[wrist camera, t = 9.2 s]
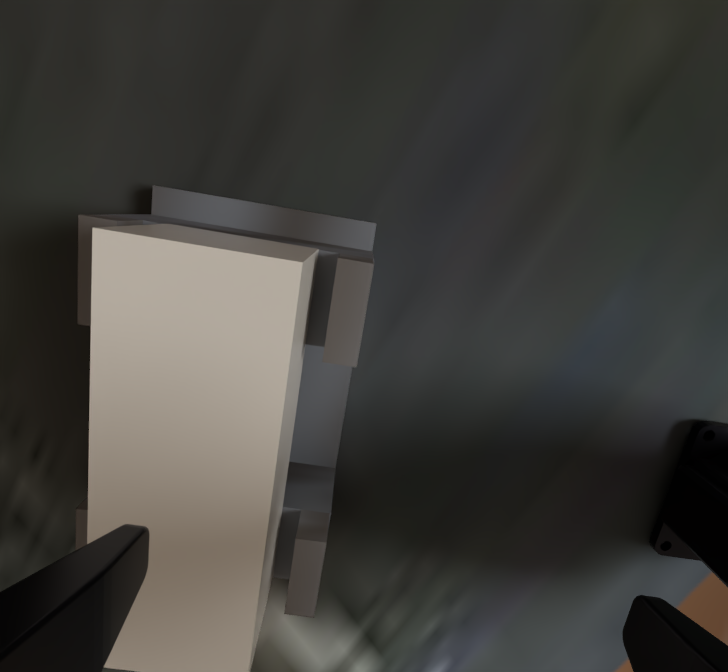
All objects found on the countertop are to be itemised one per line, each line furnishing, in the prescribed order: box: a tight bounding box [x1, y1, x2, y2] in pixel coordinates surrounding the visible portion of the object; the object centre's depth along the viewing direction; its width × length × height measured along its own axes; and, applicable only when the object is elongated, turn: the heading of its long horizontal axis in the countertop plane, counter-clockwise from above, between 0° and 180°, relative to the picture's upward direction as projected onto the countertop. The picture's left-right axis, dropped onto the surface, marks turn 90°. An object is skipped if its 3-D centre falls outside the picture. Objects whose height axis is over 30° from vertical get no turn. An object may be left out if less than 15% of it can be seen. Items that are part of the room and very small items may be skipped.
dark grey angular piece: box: [76, 185, 377, 618], centre depth 16 cm, size 8×14×6 cm, turn 171°
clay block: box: [87, 224, 319, 672], centre depth 13 cm, size 4×12×4 cm, turn 171°
